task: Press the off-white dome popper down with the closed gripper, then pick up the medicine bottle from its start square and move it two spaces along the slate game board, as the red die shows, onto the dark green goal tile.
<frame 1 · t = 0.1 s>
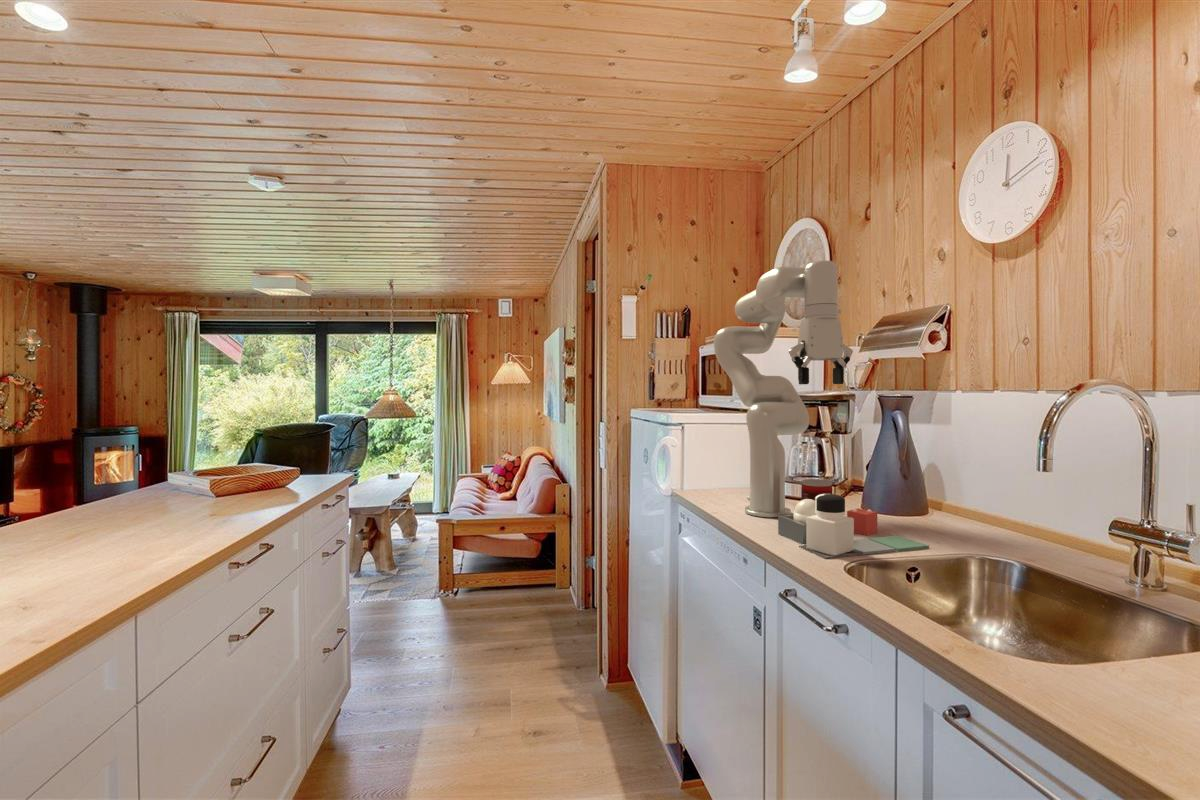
hand: (821, 384, 139), 37 cm above the counter, tool pointing down, fingers open, 9 cm apart
game board: (858, 548, 128), on the counter
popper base: (808, 537, 137), on the counter
medicine bottle: (829, 550, 126), resting on game board
canned food: (816, 523, 151), on the counter
red die: (862, 531, 142), on the counter
dome: (808, 512, 137), point 6 cm above the counter, slide at 0.0 cm
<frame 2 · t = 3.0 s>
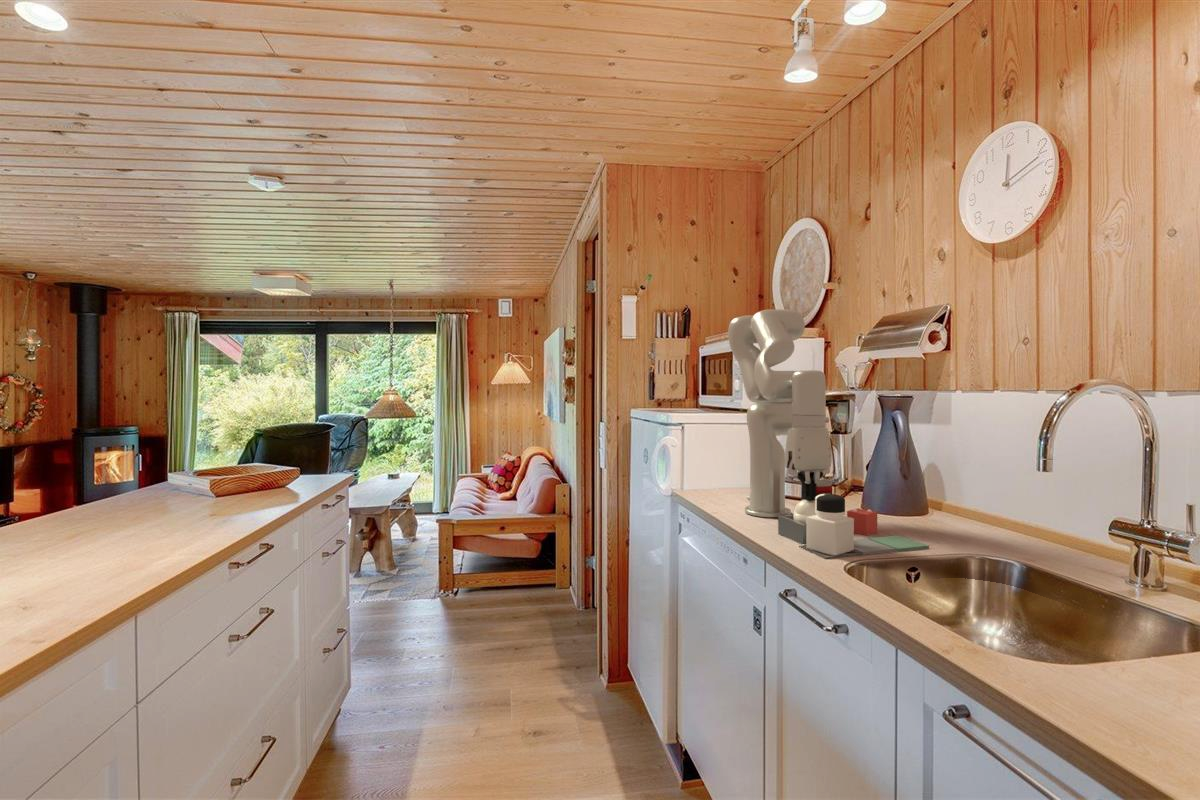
hand: (809, 499, 136), 9 cm above the counter, tool pointing down, fingers closed
dome: (808, 512, 137), point 6 cm above the counter, slide at 0.1 cm, touching gripper
everything else where it was.
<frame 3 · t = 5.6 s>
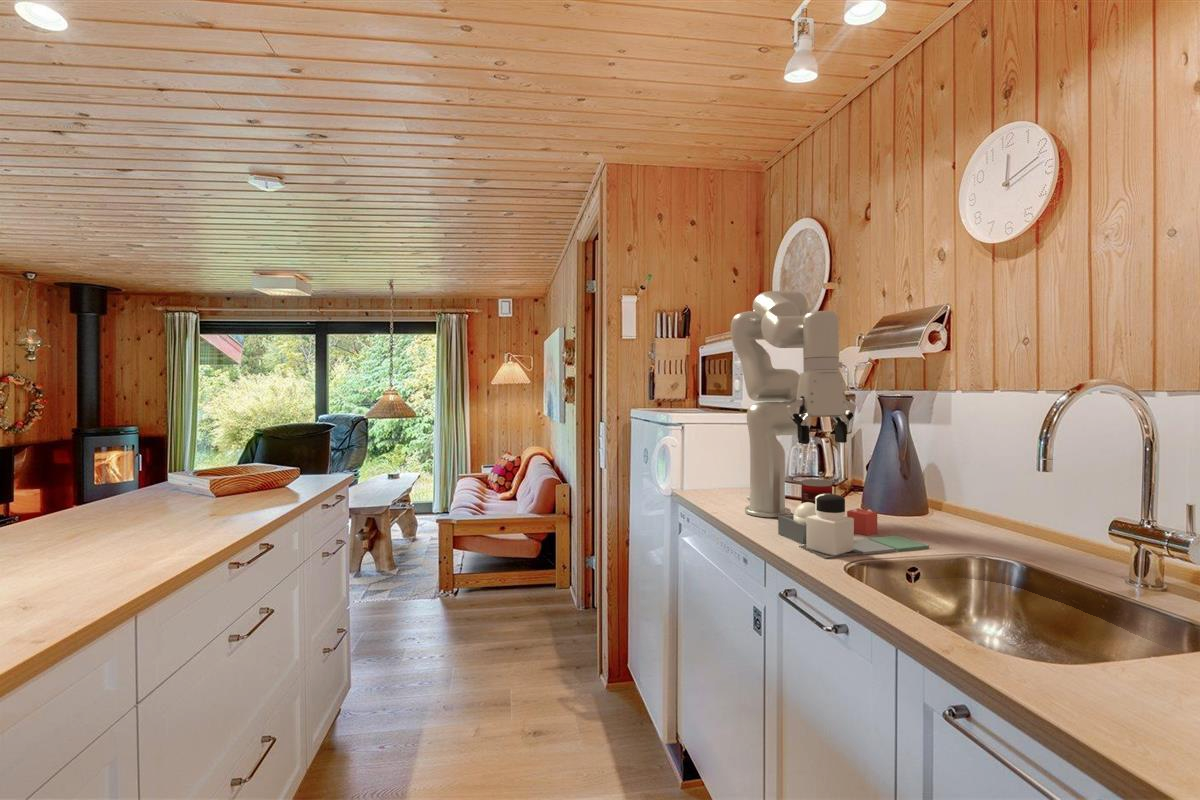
hand: (822, 442, 129), 23 cm above the counter, tool pointing down, fingers open, 9 cm apart
dome: (808, 515, 137), point 5 cm above the counter, slide at 0.8 cm
everything else where it was.
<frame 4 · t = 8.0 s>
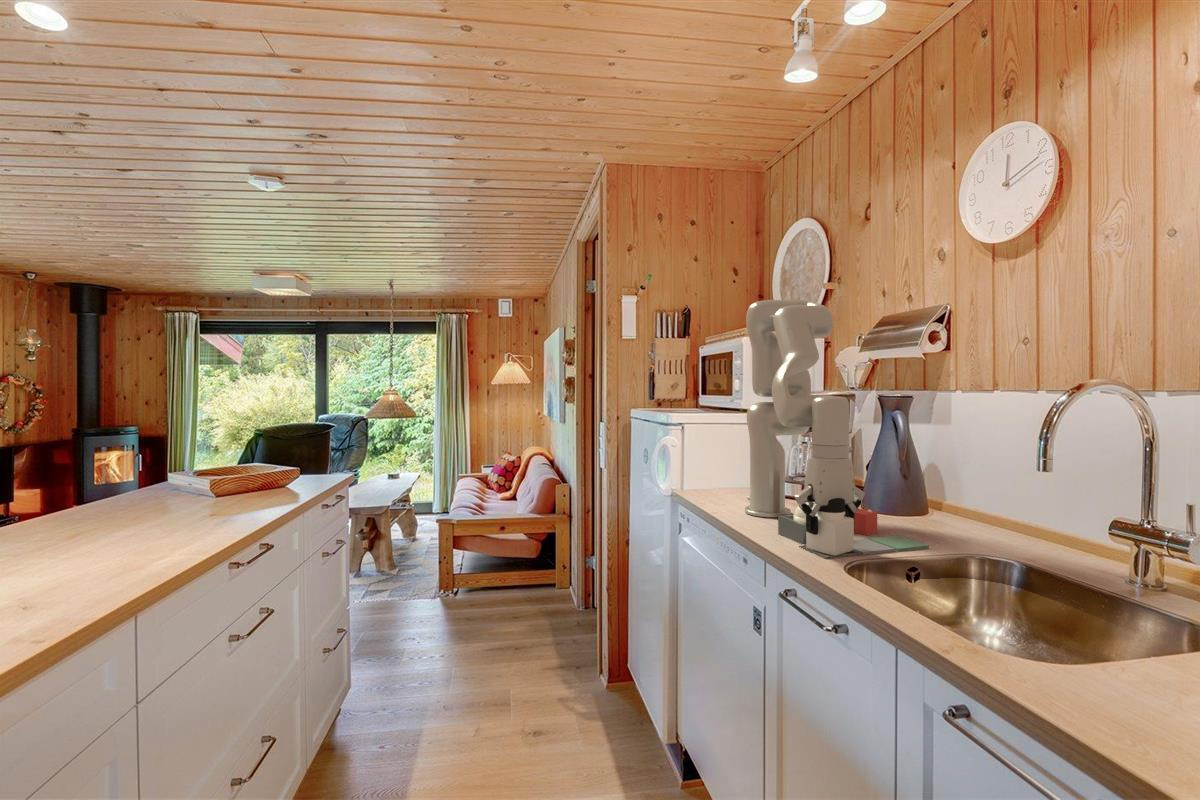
hand: (830, 531, 125), 4 cm above the counter, tool pointing down, fingers closed on medicine bottle, 8 cm apart
medicine bottle: (829, 550, 126), resting on game board, touching gripper
everything else where it was.
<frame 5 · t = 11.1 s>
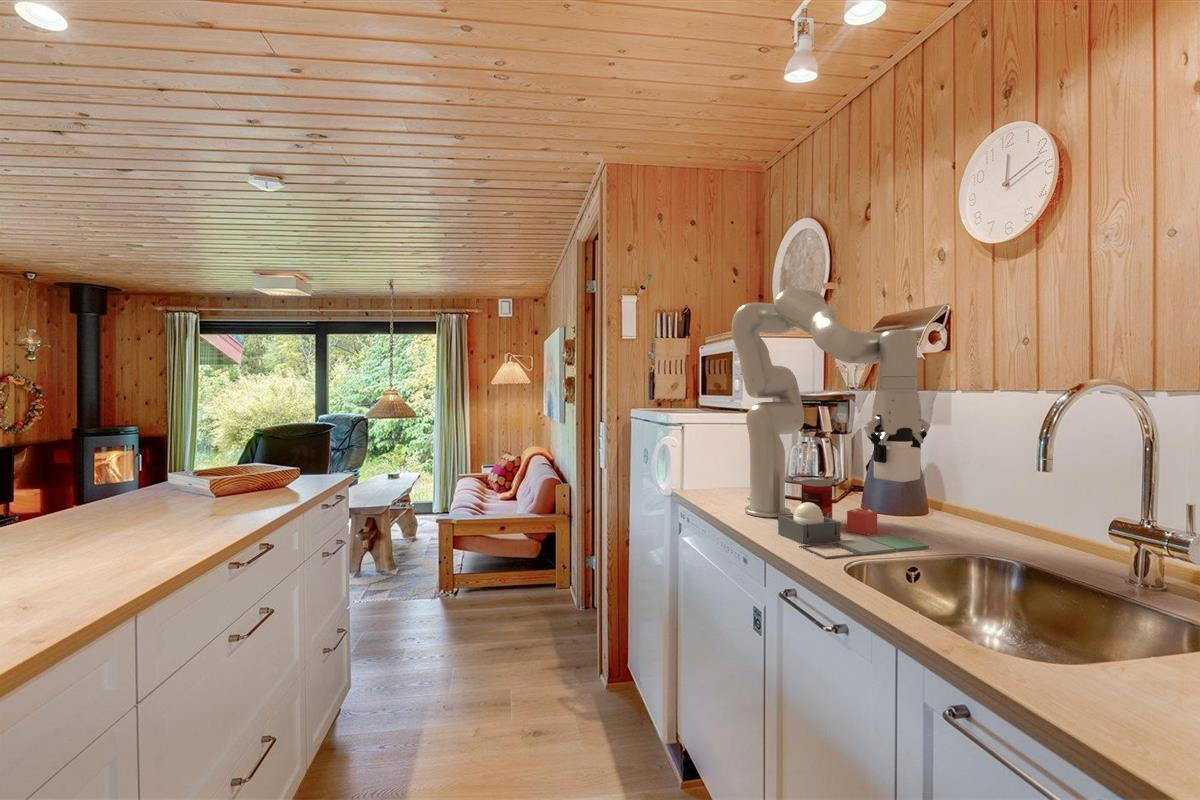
hand: (897, 461, 130), 19 cm above the counter, tool pointing down, fingers closed on medicine bottle, 8 cm apart
medicine bottle: (896, 479, 130), point 15 cm above the counter, touching gripper
everything else where it was.
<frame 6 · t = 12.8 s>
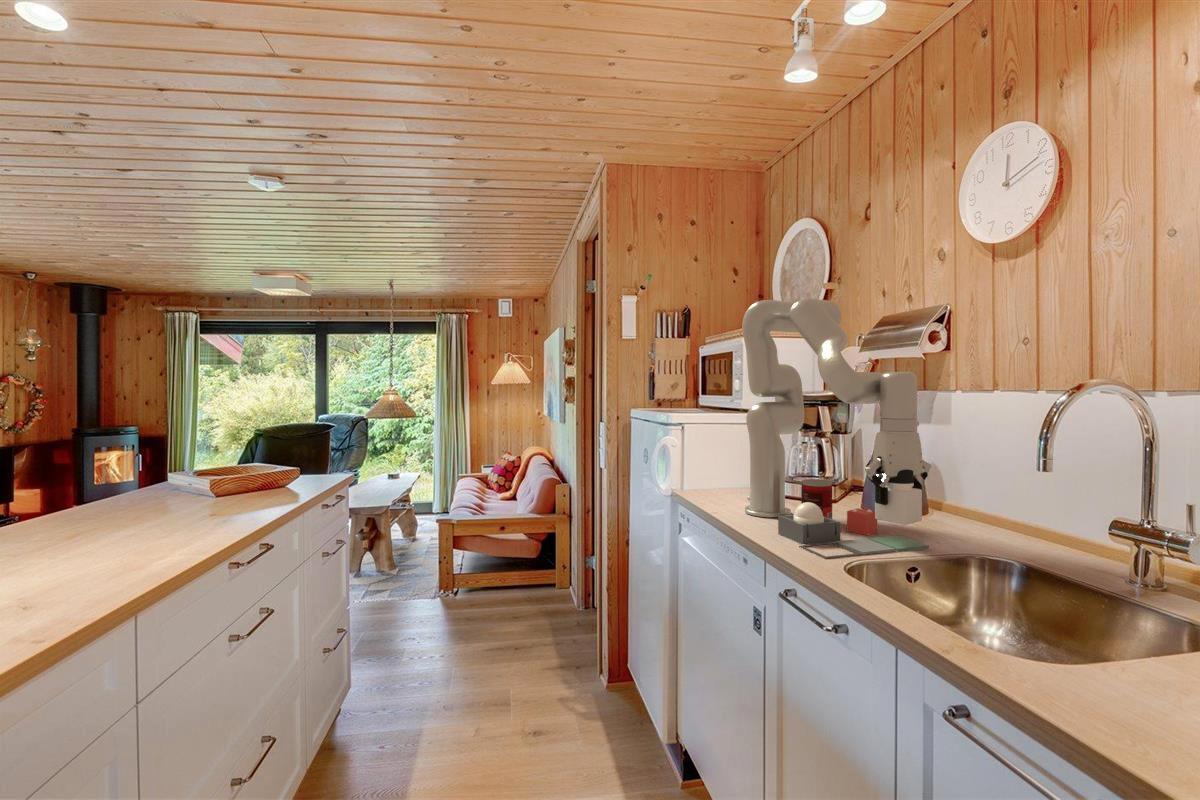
hand: (898, 502, 130), 10 cm above the counter, tool pointing down, fingers closed on medicine bottle, 8 cm apart
medicine bottle: (898, 521, 130), point 5 cm above the counter, touching gripper
everything else where it was.
when the fingers open (6 cm above the counter, at t = 14.2 s): medicine bottle drops 1 cm, resting on game board.
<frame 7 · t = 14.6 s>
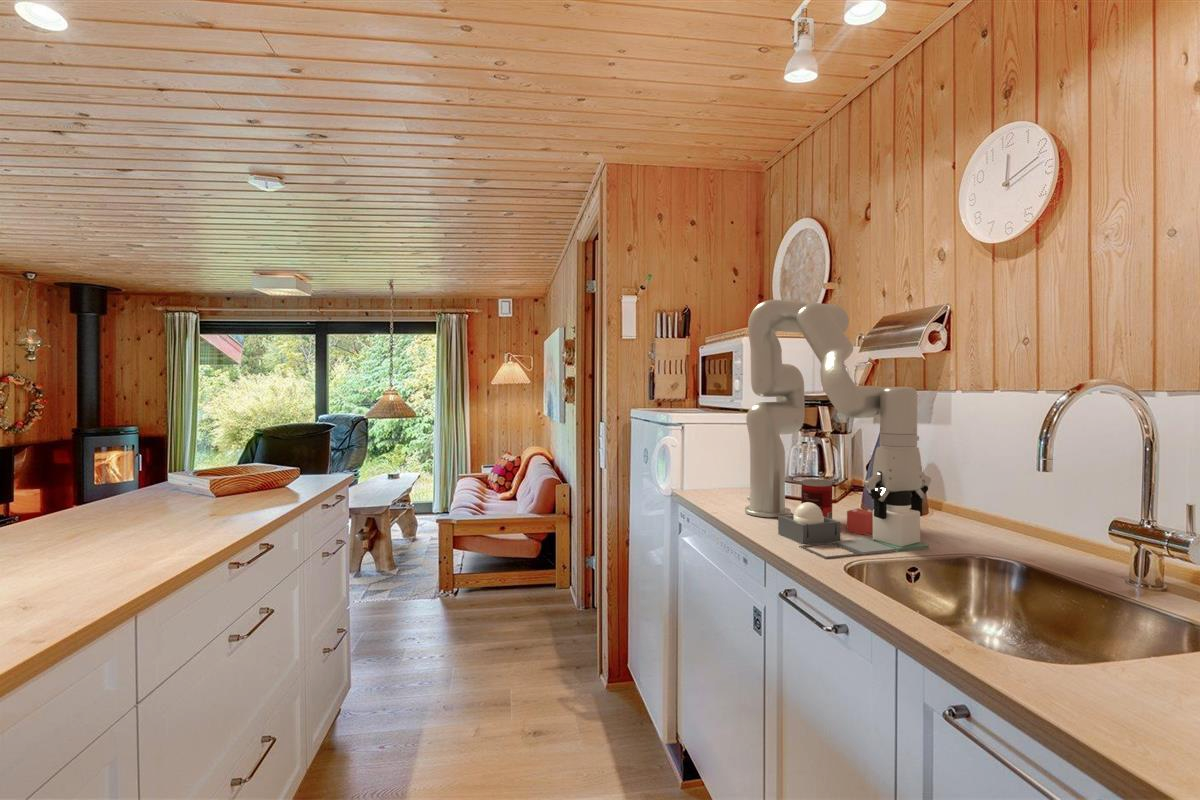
hand: (897, 516, 130), 6 cm above the counter, tool pointing down, fingers open, 9 cm apart
medicine bottle: (896, 542, 131), resting on game board
everything else where it was.
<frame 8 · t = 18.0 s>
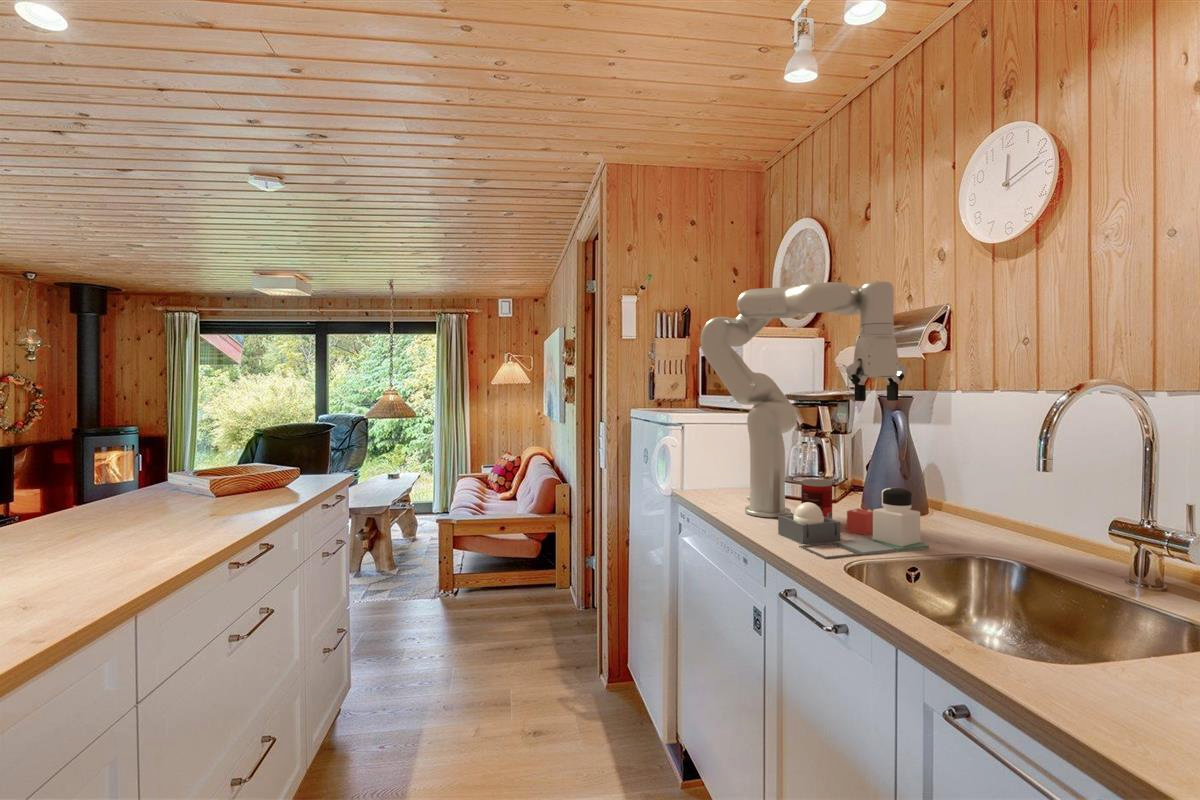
hand: (876, 400, 144), 32 cm above the counter, tool pointing down, fingers open, 9 cm apart
nothing on the counter moved.
at the end: medicine bottle inside the target area (0.5 cm from its centre), resting on game board; medicine bottle tilted 0°; the gripper is holding nothing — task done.
